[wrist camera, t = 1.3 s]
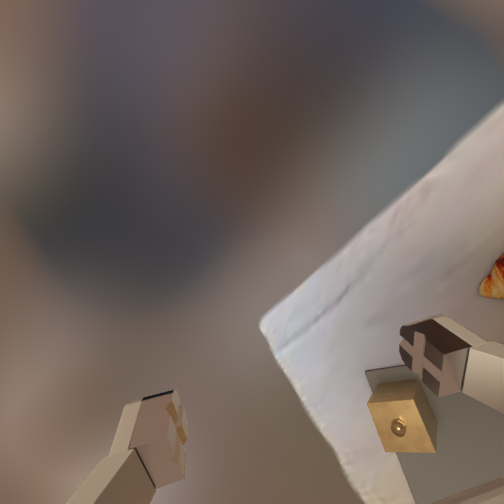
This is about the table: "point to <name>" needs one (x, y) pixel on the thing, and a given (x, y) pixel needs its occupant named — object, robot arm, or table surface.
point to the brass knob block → (403, 417)
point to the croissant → (494, 281)
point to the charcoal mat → (451, 442)
